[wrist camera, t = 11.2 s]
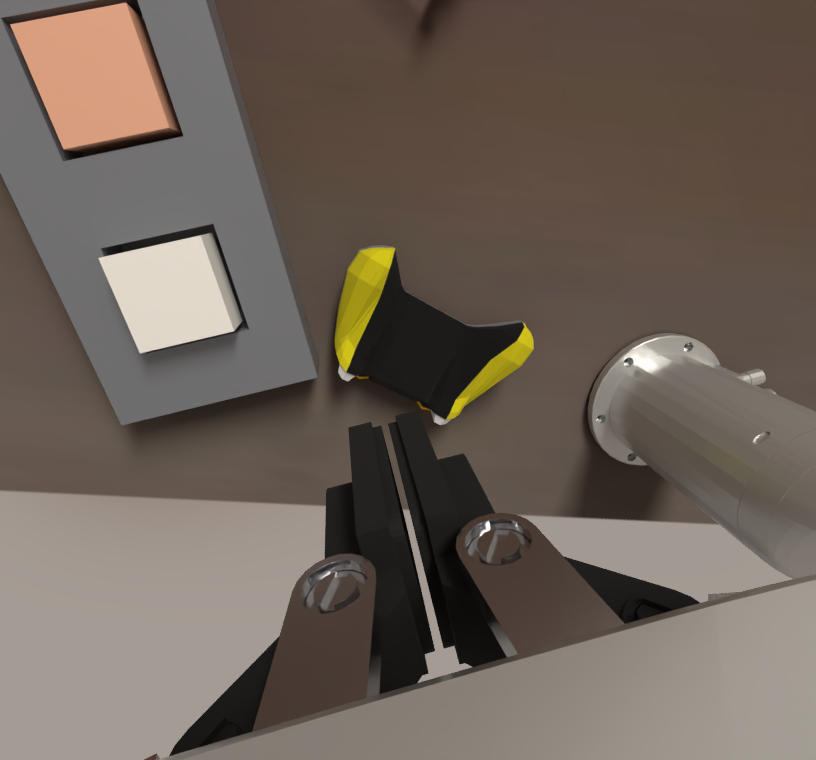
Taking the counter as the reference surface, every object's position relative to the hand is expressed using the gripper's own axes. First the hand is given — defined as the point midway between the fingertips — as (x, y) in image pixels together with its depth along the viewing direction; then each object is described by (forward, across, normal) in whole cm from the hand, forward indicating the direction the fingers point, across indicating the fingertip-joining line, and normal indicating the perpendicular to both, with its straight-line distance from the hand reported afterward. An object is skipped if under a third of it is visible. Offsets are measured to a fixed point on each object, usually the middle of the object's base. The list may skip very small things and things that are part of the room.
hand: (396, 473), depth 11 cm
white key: (+24, +11, -3) cm, 27 cm away
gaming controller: (+28, -4, +5) cm, 28 cm away
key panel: (+27, +11, -9) cm, 31 cm away
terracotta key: (+26, +11, -15) cm, 32 cm away
